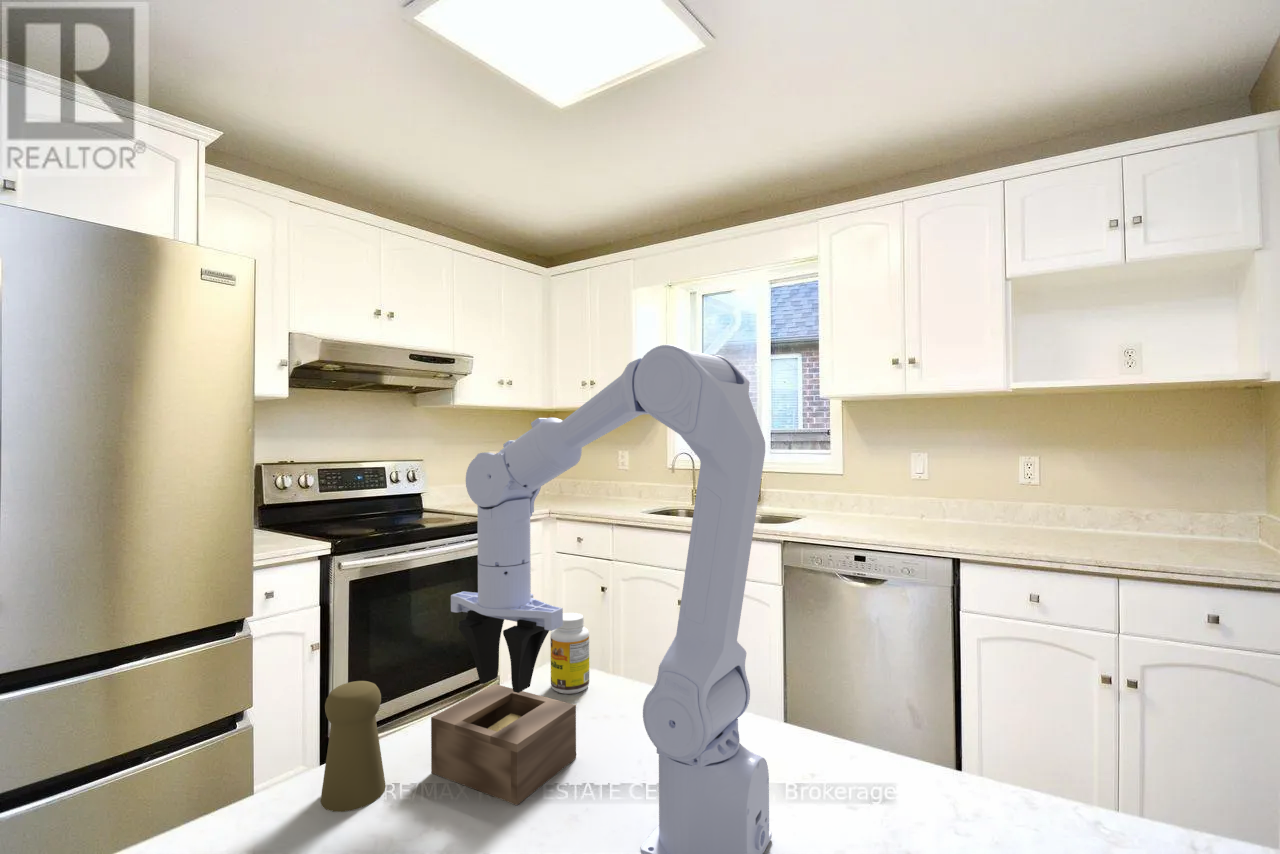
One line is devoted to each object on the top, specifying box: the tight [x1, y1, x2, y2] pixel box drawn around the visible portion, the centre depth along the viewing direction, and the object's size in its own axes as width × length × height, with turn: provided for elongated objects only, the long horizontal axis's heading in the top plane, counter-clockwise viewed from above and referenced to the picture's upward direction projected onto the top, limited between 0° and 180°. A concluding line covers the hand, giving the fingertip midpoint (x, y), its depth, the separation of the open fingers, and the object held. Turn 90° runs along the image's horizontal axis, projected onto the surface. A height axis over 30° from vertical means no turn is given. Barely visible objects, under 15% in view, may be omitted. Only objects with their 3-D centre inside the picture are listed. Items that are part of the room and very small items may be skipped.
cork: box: [320, 680, 387, 813], centre depth 63 cm, size 6×6×11 cm
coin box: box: [430, 683, 577, 806], centre depth 68 cm, size 12×10×6 cm
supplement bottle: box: [550, 612, 590, 695], centre depth 89 cm, size 6×6×10 cm
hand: (504, 684), depth 68 cm, fingers open, 4 cm apart
